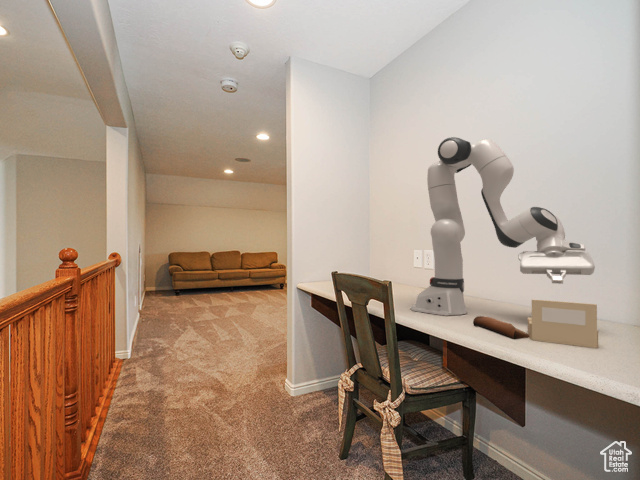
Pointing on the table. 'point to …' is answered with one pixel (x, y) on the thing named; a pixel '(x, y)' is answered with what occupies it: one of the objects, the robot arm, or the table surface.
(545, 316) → the flap
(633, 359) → the table surface
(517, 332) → the brown tapered cylinder
